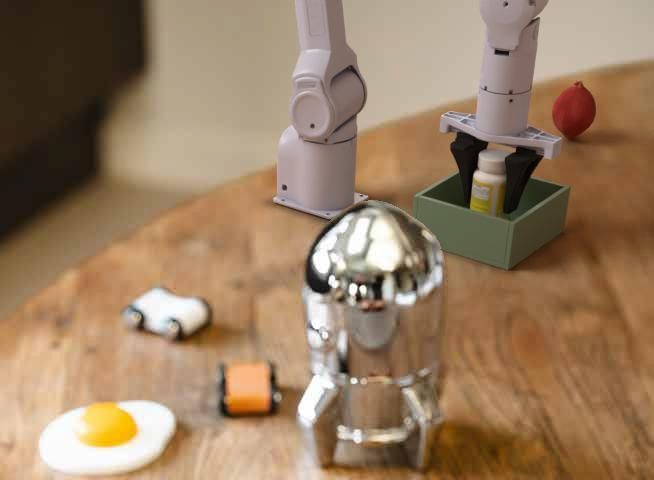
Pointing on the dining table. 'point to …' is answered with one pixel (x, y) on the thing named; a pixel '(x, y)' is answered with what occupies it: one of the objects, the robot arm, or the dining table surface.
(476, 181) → the supplement bottle
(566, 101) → the onion
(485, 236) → the bin
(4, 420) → the dining table surface
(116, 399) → the dining table surface
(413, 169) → the dining table surface
